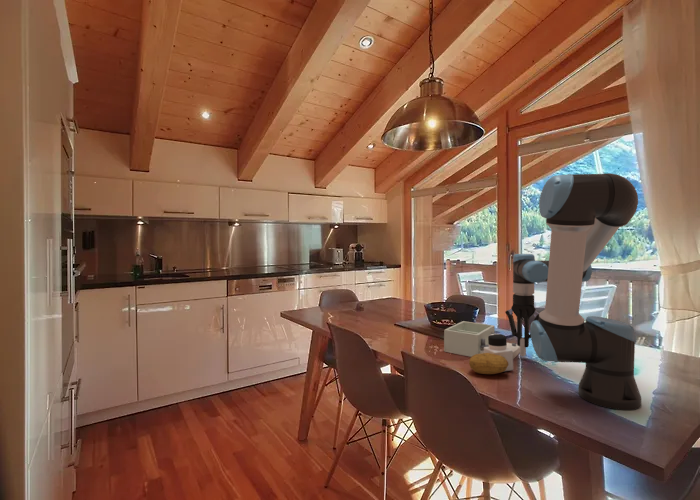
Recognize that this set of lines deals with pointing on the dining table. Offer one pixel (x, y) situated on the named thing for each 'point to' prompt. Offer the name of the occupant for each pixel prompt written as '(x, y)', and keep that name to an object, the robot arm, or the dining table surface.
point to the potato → (488, 363)
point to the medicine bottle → (500, 348)
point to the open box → (467, 338)
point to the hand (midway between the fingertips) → (522, 354)
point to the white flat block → (512, 346)
